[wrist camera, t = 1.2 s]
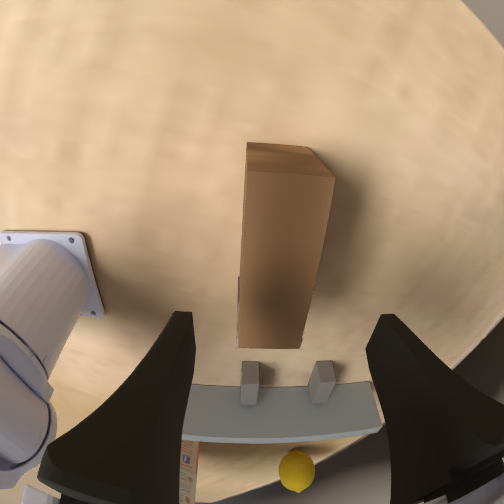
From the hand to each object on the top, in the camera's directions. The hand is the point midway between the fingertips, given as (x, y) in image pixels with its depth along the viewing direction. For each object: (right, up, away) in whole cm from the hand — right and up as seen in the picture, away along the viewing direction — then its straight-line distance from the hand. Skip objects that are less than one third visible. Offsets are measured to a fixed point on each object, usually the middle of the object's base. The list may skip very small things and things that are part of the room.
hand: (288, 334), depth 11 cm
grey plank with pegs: (+2, -9, +17) cm, 19 cm away
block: (0, +5, +8) cm, 10 cm away
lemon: (+5, -28, +29) cm, 41 cm away
